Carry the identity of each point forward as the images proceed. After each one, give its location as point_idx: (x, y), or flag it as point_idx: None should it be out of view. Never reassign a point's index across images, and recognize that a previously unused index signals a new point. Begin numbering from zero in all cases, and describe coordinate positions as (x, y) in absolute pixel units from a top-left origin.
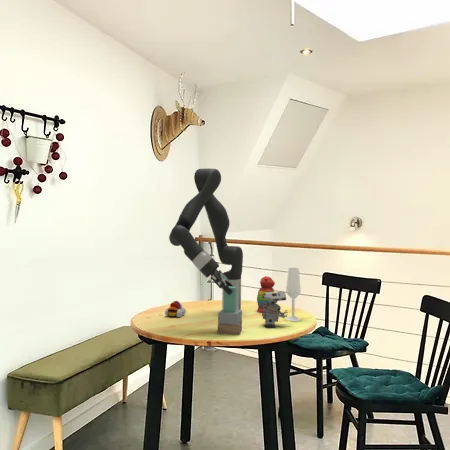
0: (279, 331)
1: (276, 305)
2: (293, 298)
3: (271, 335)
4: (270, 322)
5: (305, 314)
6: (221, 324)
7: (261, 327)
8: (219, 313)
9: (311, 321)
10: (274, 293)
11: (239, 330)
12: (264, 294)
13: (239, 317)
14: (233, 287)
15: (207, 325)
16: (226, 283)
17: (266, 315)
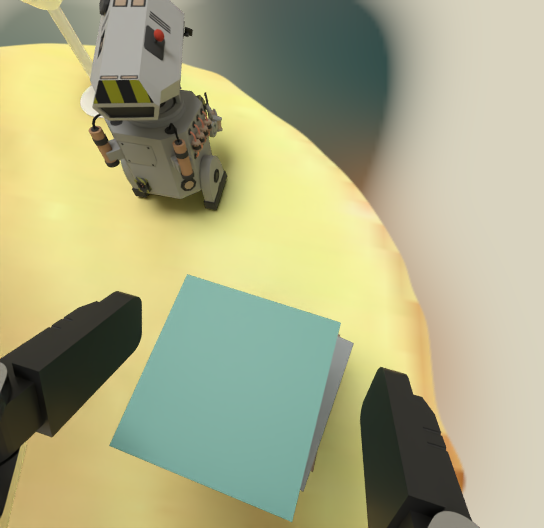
0: (281, 175)
1: (181, 96)
2: (60, 3)
3: (341, 214)
4: (217, 180)
5: (45, 49)
6: None
7: (206, 224)
8: (307, 477)
9: None
10: (161, 33)
11: None
12: (126, 89)
13: None
14: (273, 334)
15: (100, 495)
16: (19, 428)
17: (194, 175)
